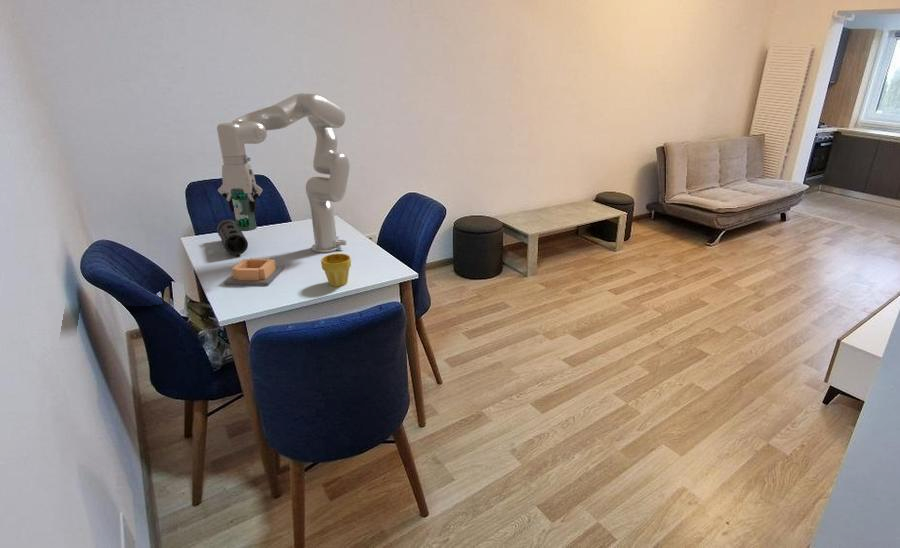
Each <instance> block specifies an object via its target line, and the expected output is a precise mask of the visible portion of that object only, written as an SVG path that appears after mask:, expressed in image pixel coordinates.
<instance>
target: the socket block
mask: <svg viewBox="0 0 900 548" xmlns="http://www.w3.org/2000/svg"><path fill="white" fill-rule="evenodd" d="M284 270H285V266H284V265H283V266H282V265H281V266H280V265H276V260H275V259H271V258H261V257H260V258H258V257H257V258H253V257H252V258H248V259H246V258H244V259H242V260H241V261H240V262H239V263H236V265H235V266H233V267H232V268H231V272H232V273H231V274H232V275H231V276H230V277H229V278H227V279H226V280H225V281H224V282H223V283H224V285H225V286H254V285H259V286H260V285H261V286H260V287H264V286H266V287H267V286H269V285H271V284H272V282H273V281H274V280H275V279H277V277H278V276H279V275H280V274H281V273H282V272H283V271H284ZM262 285H263V286H262Z"/></svg>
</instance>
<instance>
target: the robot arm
mask: <svg viewBox="0 0 900 548" xmlns="http://www.w3.org/2000/svg"><path fill="white" fill-rule="evenodd" d="M304 118H307V119H308V122H309V123H310V125H311V127H312V128H313V130H314V132H315V135H316V144H315V149H314V156H313V161H312V162H313V165H312V166H313V170H314V171H315V172H316V173H318V174H321V175H328V176H329V177H323V176H312V177H310V178H309V179H308V180H307V182H306V184H305V193H306V196H307V199H308V202H309V208H310V215H311V216H310V217H311V221H312V230H313V231H312V232H313V239H314V243H313V245H312V246H311V250H312V251H313V252H315V253H322V254H323V253H332V252H335V251H338V250H340V249H342V246H347V241H346V240H345V239H339V236H337V231H336V220H335V211H334V206H333V203H339V202H341V201H342V200H343V199H344V197H345V195H346V193H347V192H346V191H347V187H348V181H349V175H350V160H349V159H348V157H347V155H345V154H344V153H342V152H339V151H337V149H338V137H337V134H336V132H335V130H334V129H340V128H342V127H343V126H344V125H345V122H346V115H345V112H344V110H343V108H341V107H340V106H339V105H337V104H335V103H333V102H332V101H330V100H328V99H327V98H325V97H323V96H321V95H319V94H316V93H296V94H293V95H291V96H289V97H287V98H285V99H283V100H281V101H279V102H277V103H275V104H273V105H270V106H266V107H264V108H261V109H258V110H254V111H251V112H248V113H246V114H244V115H242V116H239V117H238V118H236V119H234V120H232V121H231V122H223V123H218V125H217V126H216V131H217V135H218V142H219V146H220V152H221V158H222V163H223V164H222V166H221V179H222V184H221V186H220V187H218V189H217V192H218V193H219V194H220V195H222V197H223V198H224V199H226V201H227V202H228V205H229V210H230V211H231V213H235V212H234V207H233V202H232V197H231V189H236V190H237V189H243V190H244V193H245V194H247V195H248V197H249V199H250V202H249V203H250V209H251V212H254V213H255V212H257V209H258V206H257V200H258V198H259V197H260V196H261V194H262V193H263V191H264V190H263V188H262V187H261V186H260V185H258V184H257V182H256V178H255V174H254V171H253V168H252V166H251V164H250V163H248V162H250V161H251V157H248V155H247V154H246V153H247V152H246V147H245V144H246V145H247V144H253V145H258V144H261V143H263V142H265V140H266V138H267V136H268V132H267V131H275V130H280V129H285V128H287V127H290V125H292V124H294V123H297V122H298V121H299V120H302V119H304Z"/></svg>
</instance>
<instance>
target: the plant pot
mask: <svg viewBox="0 0 900 548" xmlns="http://www.w3.org/2000/svg"><path fill="white" fill-rule="evenodd" d="M320 263H321V269H322V270H323V271H324V273H325V275H326V278H327V281H328V284H329V286H331V287H342V286H344V285H347V283H348V281H349V272H350V268H351V267H352V259H351V256H350V255H348V254H346V253H331V254H328V255H325V256H323V257H321V259H320Z"/></svg>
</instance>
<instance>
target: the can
mask: <svg viewBox="0 0 900 548" xmlns="http://www.w3.org/2000/svg"><path fill="white" fill-rule="evenodd" d="M231 197H232V202H233V207H234V212H233V213H234V216H235V217H234V218H235V222H236V223H237V228H238V230H239V231H242V232H249V231H254V230H257V222H256V216H255V212H251V209H250V203H249V202H250V199H249V197H248V195H247V194H245V193H244V190H243V189H237V190H236V189H231Z"/></svg>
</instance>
